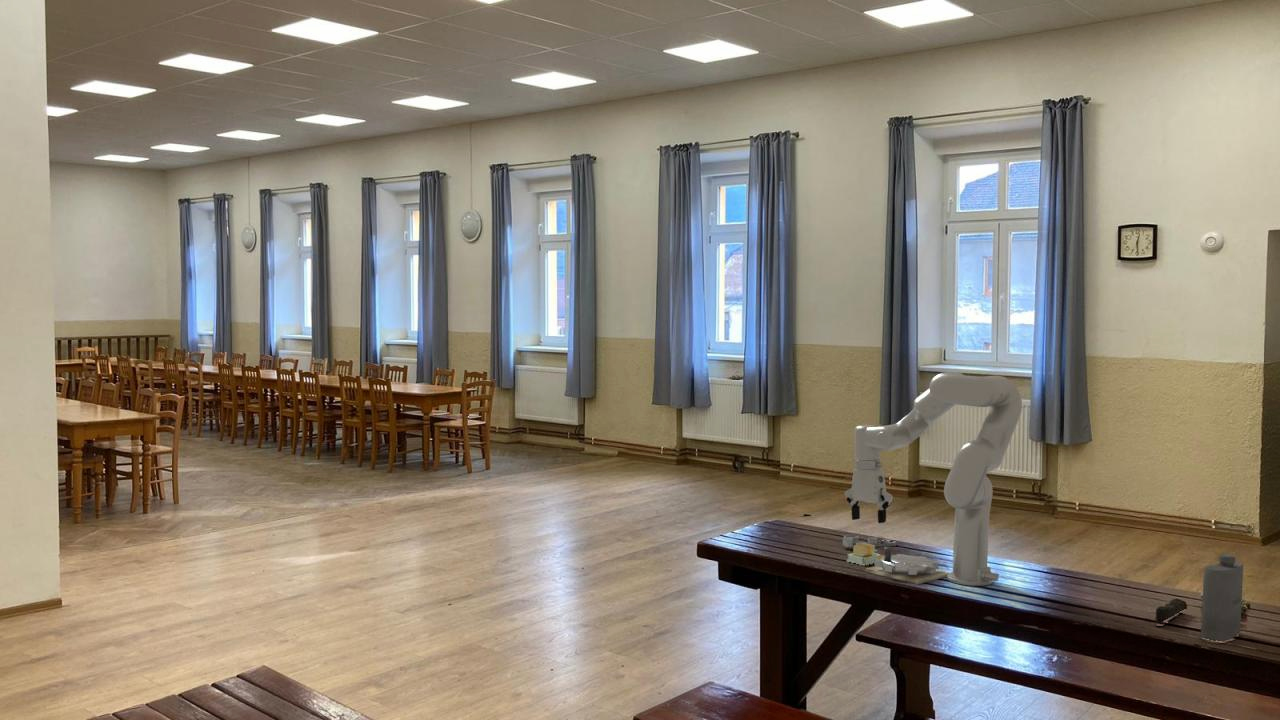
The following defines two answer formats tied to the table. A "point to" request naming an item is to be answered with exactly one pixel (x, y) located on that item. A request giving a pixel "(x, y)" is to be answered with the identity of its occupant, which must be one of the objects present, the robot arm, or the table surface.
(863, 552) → the yellow block
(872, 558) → the seat
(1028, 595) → the table surface
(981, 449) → the robot arm
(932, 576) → the bearing plate
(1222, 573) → the flask
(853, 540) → the pulley system
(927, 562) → the sprocket
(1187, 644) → the table surface
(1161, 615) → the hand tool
